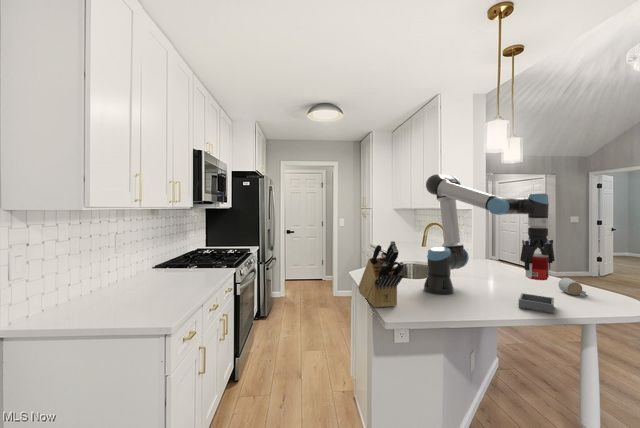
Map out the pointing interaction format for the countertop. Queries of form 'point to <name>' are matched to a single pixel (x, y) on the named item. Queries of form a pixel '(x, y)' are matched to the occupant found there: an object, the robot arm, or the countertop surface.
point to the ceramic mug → (570, 286)
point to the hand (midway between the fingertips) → (537, 276)
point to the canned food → (539, 267)
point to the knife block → (382, 278)
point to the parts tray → (536, 303)
